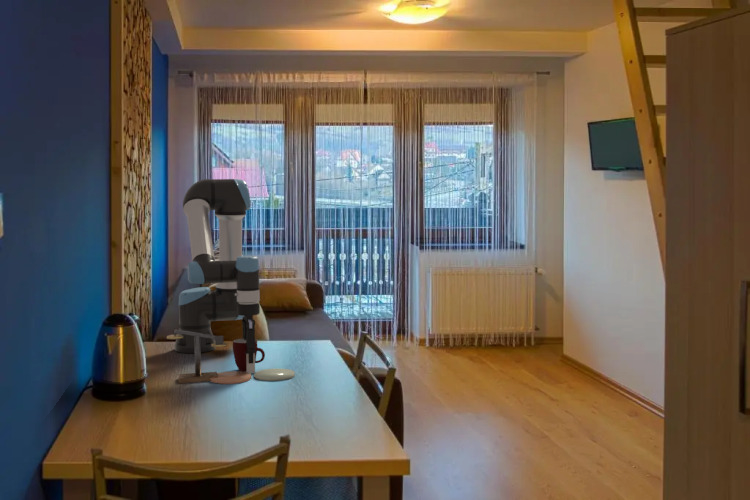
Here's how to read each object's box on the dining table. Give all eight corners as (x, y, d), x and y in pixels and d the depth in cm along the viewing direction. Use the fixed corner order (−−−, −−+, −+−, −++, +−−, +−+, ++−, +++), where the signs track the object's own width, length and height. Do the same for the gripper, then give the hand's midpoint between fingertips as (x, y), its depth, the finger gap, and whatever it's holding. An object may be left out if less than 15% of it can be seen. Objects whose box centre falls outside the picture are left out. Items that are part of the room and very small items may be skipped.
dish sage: (252, 372, 248) (252, 370, 248) (291, 370, 252) (291, 367, 252) (256, 382, 236) (256, 379, 236) (297, 379, 239) (297, 376, 239)
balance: (167, 379, 240) (166, 328, 238) (227, 375, 245) (226, 325, 243) (167, 384, 234) (166, 331, 233) (228, 379, 239) (227, 328, 238)
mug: (265, 367, 257) (264, 337, 256) (264, 372, 249) (264, 342, 248) (233, 368, 256) (233, 338, 255) (232, 373, 248) (231, 343, 247)
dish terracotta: (208, 375, 244) (208, 372, 244) (249, 373, 248) (249, 370, 248) (210, 385, 232) (210, 382, 232) (253, 382, 235) (253, 379, 235)
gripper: (233, 299, 260) (235, 363, 262) (239, 307, 239) (241, 377, 241) (255, 298, 262) (256, 362, 264) (263, 306, 241) (264, 376, 243)
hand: (249, 369), depth 252 cm, fingers open, 9 cm apart
